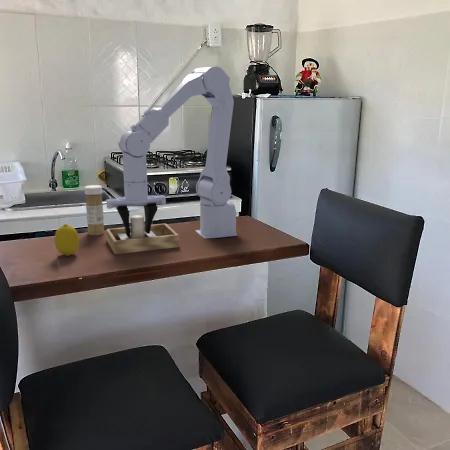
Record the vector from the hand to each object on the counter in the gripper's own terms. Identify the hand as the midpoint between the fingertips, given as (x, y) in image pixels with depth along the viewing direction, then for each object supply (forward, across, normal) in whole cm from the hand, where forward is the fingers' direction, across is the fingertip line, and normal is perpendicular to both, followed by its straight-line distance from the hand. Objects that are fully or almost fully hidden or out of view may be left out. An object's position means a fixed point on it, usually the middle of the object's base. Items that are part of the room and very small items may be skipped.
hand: (137, 233), depth 128 cm
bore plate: (+3, 0, 0) cm, 3 cm away
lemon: (+3, +18, +2) cm, 18 cm away
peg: (+3, 0, 0) cm, 3 cm away
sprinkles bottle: (+3, +8, -14) cm, 17 cm away
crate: (+3, -1, 0) cm, 3 cm away
